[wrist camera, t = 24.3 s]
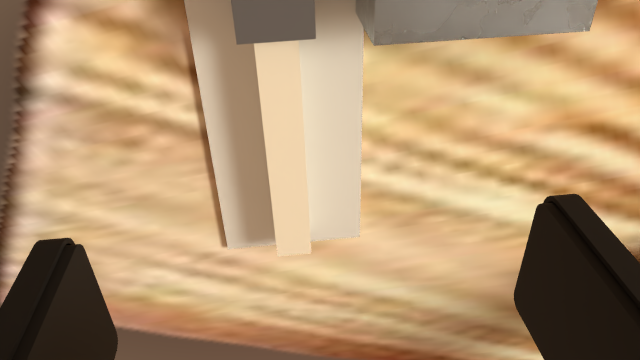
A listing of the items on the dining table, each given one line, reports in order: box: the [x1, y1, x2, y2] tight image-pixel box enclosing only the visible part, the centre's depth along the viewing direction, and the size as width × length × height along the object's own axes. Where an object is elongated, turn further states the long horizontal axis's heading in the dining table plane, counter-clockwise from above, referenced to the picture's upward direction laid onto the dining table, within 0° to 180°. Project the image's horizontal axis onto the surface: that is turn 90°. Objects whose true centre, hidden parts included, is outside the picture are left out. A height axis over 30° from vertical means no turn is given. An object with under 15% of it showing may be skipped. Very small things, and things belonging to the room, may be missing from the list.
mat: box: [184, 0, 364, 249], centre depth 33 cm, size 20×10×1 cm, turn 2°
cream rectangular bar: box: [231, 0, 316, 257], centre depth 31 cm, size 20×4×4 cm, turn 2°
